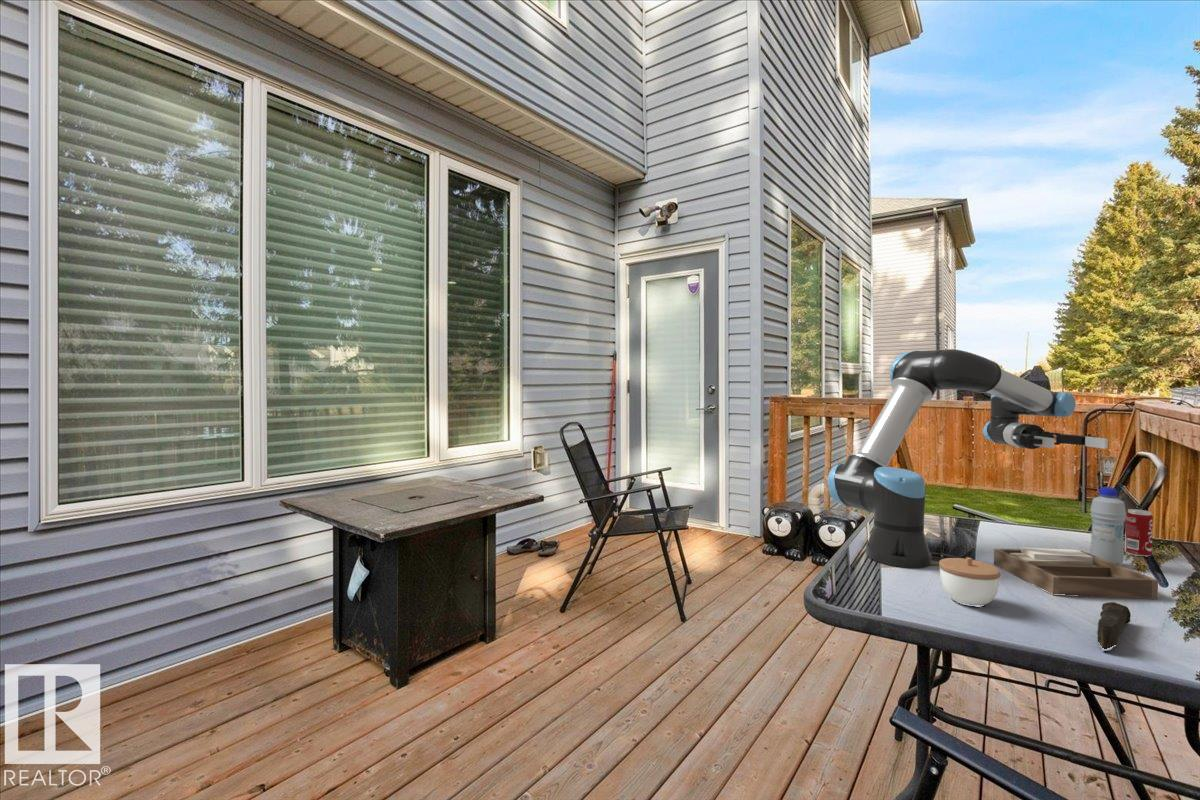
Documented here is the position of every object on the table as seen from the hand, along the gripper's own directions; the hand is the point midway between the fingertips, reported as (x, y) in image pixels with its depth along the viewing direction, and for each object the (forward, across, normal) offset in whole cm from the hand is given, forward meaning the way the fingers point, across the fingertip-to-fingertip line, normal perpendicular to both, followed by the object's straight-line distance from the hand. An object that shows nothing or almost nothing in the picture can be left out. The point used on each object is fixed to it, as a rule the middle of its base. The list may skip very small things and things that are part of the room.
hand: (1079, 443), depth 147 cm
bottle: (+10, 0, -30) cm, 32 cm away
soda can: (0, -16, -30) cm, 34 cm away
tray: (+22, +18, -30) cm, 41 cm away
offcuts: (+17, +18, -29) cm, 38 cm away
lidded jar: (+37, +49, -30) cm, 68 cm away
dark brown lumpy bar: (+51, +32, -30) cm, 68 cm away
